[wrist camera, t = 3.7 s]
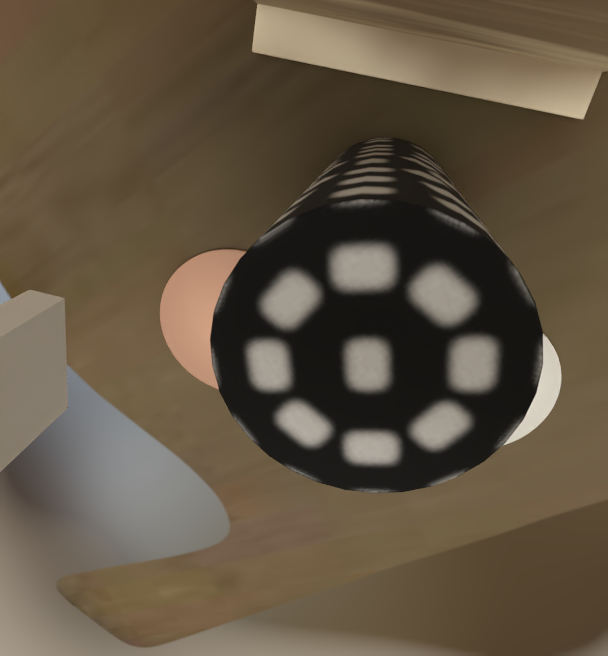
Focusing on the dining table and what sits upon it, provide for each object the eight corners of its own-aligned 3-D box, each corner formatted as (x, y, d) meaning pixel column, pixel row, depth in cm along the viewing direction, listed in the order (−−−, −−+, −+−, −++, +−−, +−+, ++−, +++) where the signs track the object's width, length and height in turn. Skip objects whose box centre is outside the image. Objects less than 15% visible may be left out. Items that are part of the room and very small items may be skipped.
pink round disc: (167, 232, 33) (164, 233, 33) (327, 269, 33) (326, 271, 32) (158, 371, 38) (155, 373, 38) (297, 405, 38) (296, 408, 37)
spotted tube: (449, 272, 32) (527, 499, 14) (320, 277, 33) (234, 487, 15) (453, 131, 28) (563, 185, 10) (308, 144, 30) (183, 210, 12)
